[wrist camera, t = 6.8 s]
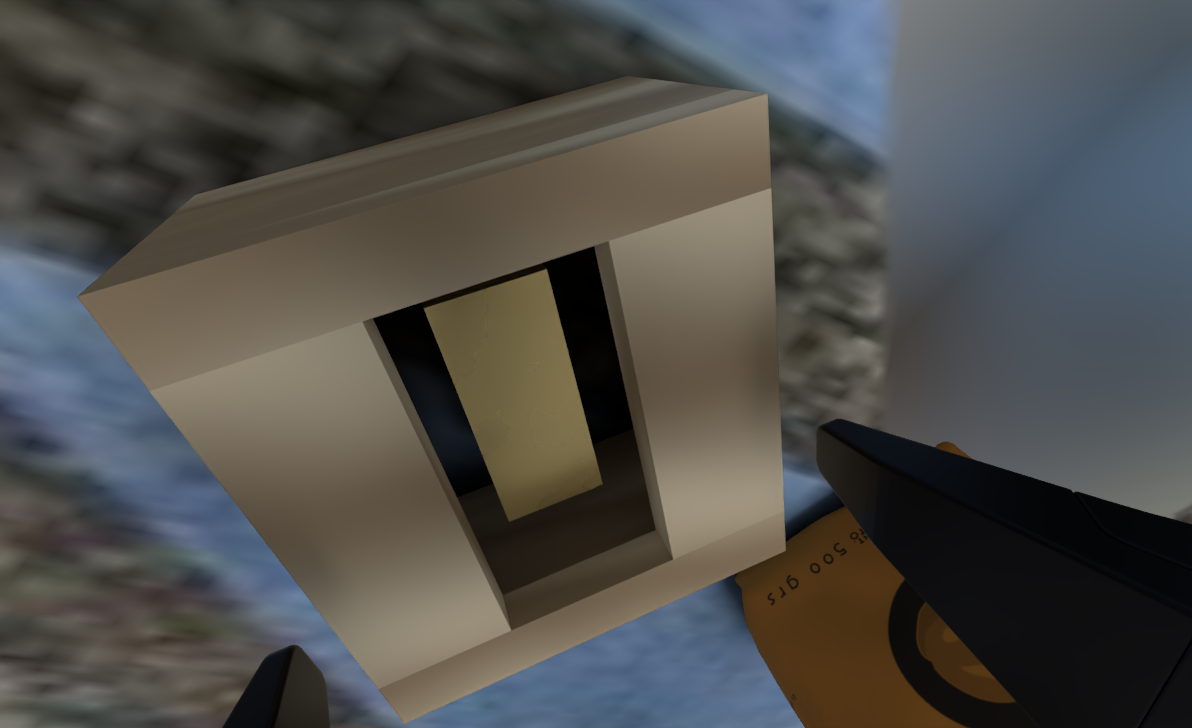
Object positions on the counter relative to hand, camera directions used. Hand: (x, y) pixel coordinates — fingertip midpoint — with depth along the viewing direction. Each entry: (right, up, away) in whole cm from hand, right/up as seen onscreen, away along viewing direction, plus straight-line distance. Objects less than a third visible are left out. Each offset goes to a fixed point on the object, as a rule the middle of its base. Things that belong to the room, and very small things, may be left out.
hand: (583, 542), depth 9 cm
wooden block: (-3, +4, +7) cm, 8 cm away
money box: (-3, +4, +7) cm, 8 cm away
